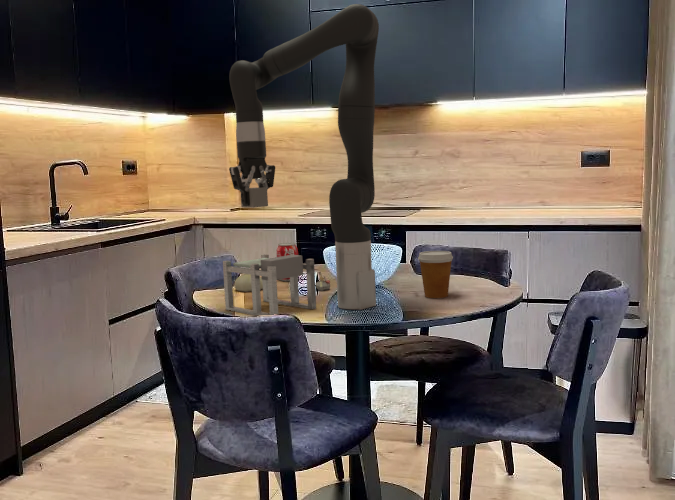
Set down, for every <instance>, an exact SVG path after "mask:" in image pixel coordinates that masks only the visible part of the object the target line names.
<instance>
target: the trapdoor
mask: <svg viewBox="0 0 675 500" xmlns="http://www.w3.org/2000/svg"><path fill="white" fill-rule="evenodd" d="M232 264H233V267H241V268H249V269H251V267H250V264H259V266H261V268H260V270H265V271H267V266H276V278H277V281H281V280H280V279H285V278H290V277H295V276H299V277H300V276H303V275H304V269H303V255H299V254H298V255H287V256H281V257H277V256H276V257H269V258H261V257H260V258H256V259H251V260H243V261H237V262H233V263H232ZM261 278H262V280H268V277H266V276H261Z"/></svg>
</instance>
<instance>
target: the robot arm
mask: <svg viewBox="0 0 675 500" xmlns="http://www.w3.org/2000/svg"><path fill="white" fill-rule="evenodd" d="M379 26H380V25H379V20H378V18H377V16H376V14H375V13H374V12H373V11H372V10H371V9H370V8H369V7H367V6H366V5H364V4H360V3H353V4H350V5H348V6H346V7H344V8H343V9H341V10H340V11H339V12H337V13H335V14H334V15H333V16H331V17H330V18H329V19H327V20H326V21H324V22H322V23H321V24H319V25H318V26H316V27H314V28H313V29H311V30H308V31H307V32H305V33H303V34H301V35H298V36H297V37H294V38H292V39H290V40H288V41H285V42H284V43H281V44H279V45H277V46H275V47H273V48H270V49H269V50H267V51H266V52H265V53H264V54H263V56H262V57H261V58H259V59H258V60H255V61H253V62H251V61H248V60H243V59H242V60H237V61H235V62H234V63H233V64H232V65H231V67H230V70H229V76H228V77H229V79H228V80H229V85H230V86H229V87H230V91H231V93H232V99H233V102H234V105H235V120H236V127H235V135H236V136H235V137H236V151H237V152H236V154H237V159H238V164H237V166H230V167H228V171H229V175H230V178H231V182H232V187H233V189H234V190H237V191H239V192H240V203H241V202H242V204H243V206H250V196H249V192H248V190H249V188H251V187H250V186H251V184H252V182H253V180H254V181H255V183H256V184H257V187H267V191H268V190H269V189H270V188H273V187H274V184H275V174H276V165H274V164H273V165H271V164H267V162H266V157H267V146H266V145H267V144H266V143H267V142H266V131H265V129H266V128H265V125H264V124H265V123H264V112H263V103H262V101H260V100H259V98H258V92H257V90H259V89H261V88H264V87H265V86H267V85H268V84H270V83H272V82H273V81H275V80H276V79H277V78H279V77H283V76H284V75H287V74H289V73H292V72H293V71H295V70H298V69H299V68H302V67H303V66H305V65H307V64H308V63H309V62H311V61H312V60H314V59H315V58H316V57H318V56H320V55H321V54H323V53H325V52H327V51H329V50H331V49H334V48H337V47H339V46H343V45H345V58H346V59H345V70H344V75H343V79H342V82H341V86H340V90H339V95H338V96H339V97H338V103H337V104H338V105H337V106H338V107H337V128H338V131H339V136H340V137H341V140H342V144H343V146H344V149H345V152H346V157H347V174H346V175H347V177H346V178H342V179H338V180H336V181H335V182H334V183H333V184H332V185H331V188H330V191H329V196H328V197H329V199H328V200H329V203H328V205H329V215H330V216H329V217H330V225H331V230H332V232H333V234H334V241H335V242H334V246H335V247H334V249H335V270H336V293H337V294H336V295H337V307H338V308H340V309H343V310H360V311H361V310H364V309H369V308H372V307H376V306H377V294H376V271H375V269H373V266H372V262H373V261H372V238H371V237H372V236H371V235H372V234H371V230H370V229H369V228H368V227H366V226H365V225H364V223H363V219H362V217H363V216H362V214H363V213H366V212H368V211H369V210H370V209H371V207H372V206H373V204H374V201H375V196H376V195H375V194H376V193H375V187H376V186H375V176H374V127H375V112H376V111H375V110H376V108H375V107H376V105H375V104H376V103H375V102H376V96H375V95H376V93H375V92H376V91H375V90H376V89H375V88H376V83H375V82H376V81H375V80H376V79H375V61H376V51H377V45H378V37H379V30H380V29H379V28H380V27H379Z"/></svg>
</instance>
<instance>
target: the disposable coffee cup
mask: <svg viewBox="0 0 675 500" xmlns="http://www.w3.org/2000/svg"><path fill="white" fill-rule="evenodd" d="M453 258H454V256H453V254H452V252H451V251H449V250H428V251H421V252H419V254H418V257H417V259H418V262H419V266H420V271H421V279H422V280H421V281H422V284H423V292H424V297H425V298H427V299H443V298H448V296H449V288H450V277H451V272H452V271H451V269H452V262H453Z"/></svg>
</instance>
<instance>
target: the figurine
mask: <svg viewBox="0 0 675 500" xmlns="http://www.w3.org/2000/svg"><path fill="white" fill-rule="evenodd" d="M318 274H319V281H317V282H315V289H317V290H318V291H321V292H323V291H329V290H330V289H331V280H330V279H329V277H327V276H325V275H323V273H322V272H321V271H319V272H318Z"/></svg>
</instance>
